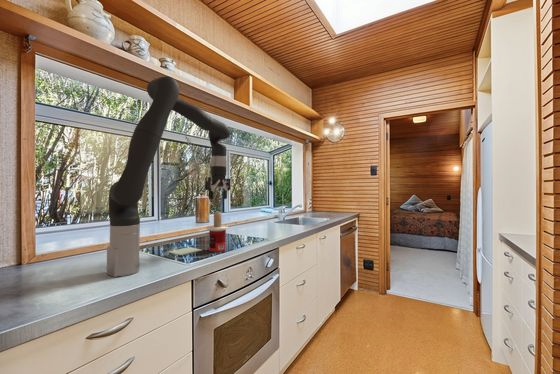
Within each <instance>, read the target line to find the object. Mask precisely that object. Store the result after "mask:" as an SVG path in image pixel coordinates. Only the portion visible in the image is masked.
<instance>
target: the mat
mask: <svg viewBox="0 0 560 374" xmlns="http://www.w3.org/2000/svg"><path fill="white" fill-rule="evenodd" d="M200 251H202V249H201V248H200V249H199V248H196V247H191V246H189V247H184V248H178V249H174V250H170V251H168V253H171V254H175V255H178V256H182V255H187V254H192V253H195V252H200Z"/></svg>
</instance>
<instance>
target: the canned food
mask: <svg viewBox="0 0 560 374" xmlns="http://www.w3.org/2000/svg"><path fill="white" fill-rule="evenodd" d="M226 231H227V229H226V230H208V232H209V233H208V234H209V235H208V237H209V238H208V239H209V240H208V241H209V242H208V243H209V244H208V247H209V248H208V252H210V253H221V252H225V251H226V245H227V244H226V240H227V238H226V237H227V236H226V233H227V232H226Z"/></svg>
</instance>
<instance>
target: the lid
mask: <svg viewBox="0 0 560 374" xmlns="http://www.w3.org/2000/svg"><path fill="white" fill-rule="evenodd" d="M228 229H229V226H228V225H225V224H223V225H222V211H214V212H213V225H208V226H206V230H208V231H209V230H226V231H227V230H228Z"/></svg>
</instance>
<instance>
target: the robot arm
mask: <svg viewBox="0 0 560 374" xmlns="http://www.w3.org/2000/svg"><path fill="white" fill-rule="evenodd" d="M146 91H147V95H148V97H150V99H151V100H152V102H151V104H150V107H149V108H148V110H146V112H145V113H144V114H143V116H142V117H141V118H140V119H139V121H138V123H137V124H136V126H135V128H134V131H133V133H132V135H131V138H130V142H129V146H128V151H127V152H128V153H127V158H126V165H125V167H124V169H123V172H122V173H121V175H120V178H119V179H118V181H116V182H114V183H113V184H111V186H110V188H109V192H108V216H109V246H107V247H106V275H108V276H111V277H113V278H116V277H123V276H125V277H126V276H131V275H134V274H136V273H138V272H139V271H140V233H141V232H140V229H141V216H140V213H139V207H138V204H139V202H140V200H141V199H142V197H143V193H144V188H145V184H146V181H147V180H146V179H147V176H148V173H149V170H150V168H151V165H152V163H153V161H154V158H155V156H156V154H157V151H158V149H159V145H160V143H161V140H162V137H163V134H164V131H165V128H166V126H167V123H168V120H169V116H170V115H171V112H172V111H173V112H175V113H177V114H179V115H180V116H182V117H184V118H185V119H187V120H189V121H190V122H192V123H193V124H194V125H196V126H197V127H199V128H200V129H201V130H203V131H205V132H208V139H209V142H210V143H209V144H210V147H211V158H210V176H208V177H207V176H206V177H205V182H204V184H205V185H204V190H206V191H207V192H208V199H209V200H214V191H215V189H216V188H218V187H219V188H221V190H222V200H226V199H228V191H231V178H226V176H227V166H228V165H227V164H228V163H227V162H228V161H227V146H226V145H224V144H222V142H221V141H222V140H226V139H229V137H230V136H231V130H230V128H229V126H228V125H227V124H225V123H224V122H222V121H220V120H218V119H215V118H213V117H212V116H211V115H210V114H208V113H207V112H205V111H204V110H203V109H201V108H199V106H195V105H194V104H191V103H189V102H186V101H184V100H182V99H181V98H180V97H179V96H180V86H179V84H178V82H177V80H176V79H174V77H172V76H165V75H164V76H161V77H158V78H155V79H152V80H150V81H149V82H148V84H147V85H146Z"/></svg>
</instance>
